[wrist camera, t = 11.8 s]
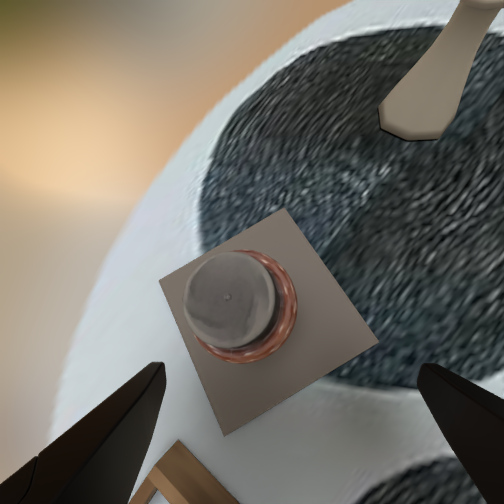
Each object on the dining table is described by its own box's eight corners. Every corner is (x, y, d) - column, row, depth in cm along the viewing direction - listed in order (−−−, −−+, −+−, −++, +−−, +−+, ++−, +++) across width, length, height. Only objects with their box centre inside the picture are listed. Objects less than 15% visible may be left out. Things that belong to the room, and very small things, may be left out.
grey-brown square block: (376, 341, 19) (379, 341, 18) (225, 433, 18) (224, 436, 18) (284, 209, 23) (284, 207, 23) (161, 281, 23) (158, 280, 22)
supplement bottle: (290, 274, 21) (295, 222, 10) (298, 346, 19) (313, 376, 8) (225, 279, 21) (164, 235, 11) (226, 349, 20) (154, 380, 9)
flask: (445, 150, 23) (558, 26, 13) (368, 135, 24) (421, 16, 15) (457, 94, 24) (566, -51, 15) (385, 84, 26) (441, -53, 17)
